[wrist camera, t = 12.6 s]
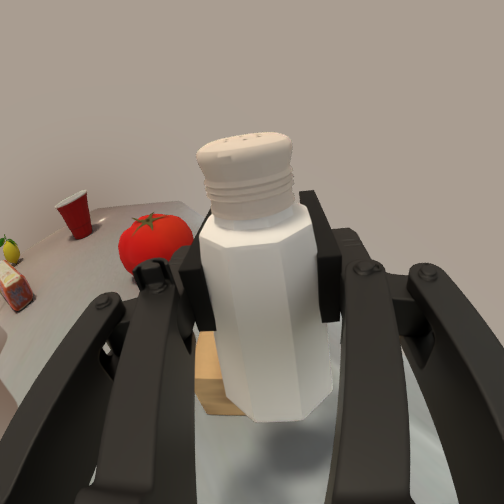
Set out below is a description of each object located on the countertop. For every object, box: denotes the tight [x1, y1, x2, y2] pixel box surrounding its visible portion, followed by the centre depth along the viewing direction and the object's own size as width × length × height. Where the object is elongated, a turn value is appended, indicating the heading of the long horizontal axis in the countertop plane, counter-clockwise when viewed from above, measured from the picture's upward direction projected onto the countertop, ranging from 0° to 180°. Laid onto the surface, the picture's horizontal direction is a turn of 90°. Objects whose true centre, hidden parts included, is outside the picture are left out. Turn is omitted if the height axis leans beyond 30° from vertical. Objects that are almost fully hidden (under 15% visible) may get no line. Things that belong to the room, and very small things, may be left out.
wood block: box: [195, 331, 246, 415], centre depth 25 cm, size 9×9×6 cm
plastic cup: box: [55, 190, 92, 239], centre depth 69 cm, size 11×11×12 cm
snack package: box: [0, 260, 33, 311], centre depth 46 cm, size 21×7×7 cm, turn 62°
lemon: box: [0, 235, 20, 264], centre depth 62 cm, size 7×6×10 cm
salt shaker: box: [196, 132, 333, 423], centre depth 10 cm, size 5×5×11 cm
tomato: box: [118, 212, 194, 276], centre depth 44 cm, size 11×13×10 cm
